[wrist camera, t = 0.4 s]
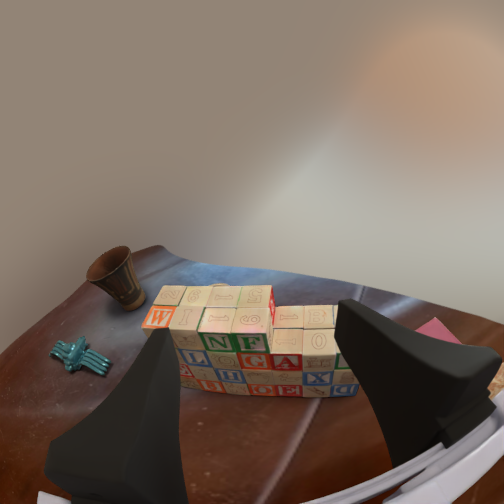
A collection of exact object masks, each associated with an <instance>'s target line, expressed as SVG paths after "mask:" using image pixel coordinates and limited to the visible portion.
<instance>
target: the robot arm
mask: <svg viewBox="0 0 504 504" xmlns="http://www.w3.org/2000/svg"><path fill="white" fill-rule="evenodd" d="M334 339H335V341H336V343H337V346H338V348H339V350H340V352H341V354H342V356H343V358H344V359H345V361H346V363H347V364H348V366H349V367H350V369H351V371H352V372H353V374H354V375H355V377H356V378H357V380H358V382H359V383H360V385H361V386H362V388H363V390H364V391H365V393H366V395H367V397H368V399H369V401H370V403H371V405H372V408H373V410H374V412H375V414H376V417H377V419H378V422H379V424H380V427H381V429H382V432H383V435H384V438H385V441H386V444H387V447H388V450H389V454H390V458H391V461H392V465H393V470H390V471H388V472H386V473H384V474H382V475H380V476H378V477H375V478H373V479H371V480H369V481H366V482H364V483H361V484H359V485H356V486H354V487H351V488H348V489H346V490H343V491H340V492H337V493H334V494H331V495H328V496H325V497H322V498H319V499H315V500H312V501H308V502H305V503H301V504H359V503H362V502H364V501H366V500H369V499H371V498H373V497H376V496H378V495H380V494H382V493H384V492H386V491H388V490H390V489H392V488H394V487H396V486H398V485H400V484H402V483H404V482H406V481H408V480H409V479H411V478H413V477H415V476H416V477H415V478H413V479H412V480H410V481H409V482H407V483H405V484H404V485H402V486H401V487H400V488H399V489H398V490H397V491H396V492H395V493H393V494H392V495H391V496H389V497H388V498H386V499H385V500H383V504H452V502H453V501H454V500H455V499H457V498H458V497H459V496H460V495H462V494H463V493H464V492H465V491H466V490H467V489H469V488H470V487H471V486H472V485H473V484H474V483H475V482H477V481H478V480H479V479H480V478H481V477H482V476H483V475H484V474H485V473H486V472H487V471H488V470H489V469H490V468H491V467H492V466H493V465H494V464H495V463H496V462H497V461H498V460H499V459H500V458H501V457H502V456H503V455H504V389H503V390H502V391H501V392H499V393H498V394H497V395H496V396H495V397H494V398H493V399H492V401H491V399H490V398H489V396H490V394H491V392H490V391H489V389H488V386H489V385H490V383H491V382H492V380H493V379H494V377H495V375H496V374H497V372H498V370H499V369H500V366H501V364H502V358H501V356H500V355H499V354H498V353H497V352H496V351H495V350H493V349H492V348H491V347H481V346H469V345H463V344H457V343H452V342H448V341H444V340H440V339H437V338H433V337H430V336H427V335H425V334H422V333H419V332H416V331H414V330H412V329H409V328H407V327H405V326H403V325H401V324H398V323H396V322H394V321H392V320H391V319H389V318H387V317H385V316H383V315H381V314H379V313H377V312H376V311H374V310H372V309H370V308H368V307H367V306H365V305H363V304H361V303H359V302H357V301H355V300H353V299H351V298H350V299H346V300H341V301H339V302H338V310H337V317H336V324H335V331H334ZM180 389H181V379H180V363H179V359H178V356H177V353H176V350H175V346H174V343H173V340H172V336H171V333H170V329H169V327H166V328H156V329H154V330H153V331H152V333H151V335H150V337H149V338H148V340H147V342H146V343H145V345H144V347H143V348H142V350H141V352H140V353H139V355H138V356H137V358H136V360H135V361H134V363H133V364H132V366H131V367H130V369H129V370H128V371H127V373H126V374H125V376H124V377H123V378H122V380H121V381H120V382H119V384H118V385H117V386H116V387H115V389H114V390H113V391H112V392H111V393H110V394H109V396H108V397H107V398H106V399H105V400H104V401H103V402H102V403H101V404H100V405H99V406H98V407H97V408H96V409H95V410H94V411H93V412H92V413H90V414H89V415H88V416H87V417H86V418H84V419H83V420H82V421H81V422H79V423H78V424H77V425H76V426H74V427H73V428H71V429H70V430H69V431H67V432H65V433H64V434H62V435H61V436H59V437H58V438H56V439H54V440H53V441H51V443H50V446H49V450H48V454H47V458H46V463H45V468H44V474H45V475H46V476H47V478H48V479H49V480H50V481H52V482H53V483H54V484H56V485H57V486H59V487H60V488H62V489H63V490H65V491H66V492H68V493H69V494H71V495H72V499H71V501H69V500H67V499H64V498H61V497H58V496H54V495H51V494H48V493H45V492H42V491H40V492H39V494H38V501H37V504H189V502H188V498H187V493H186V487H185V482H184V476H183V469H182V462H181V453H180V443H179V408H180ZM418 474H419V475H418ZM417 475H418V476H417Z"/></svg>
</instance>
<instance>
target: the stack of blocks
mask: <svg viewBox="0 0 504 504" xmlns="http://www.w3.org/2000/svg"><path fill="white" fill-rule="evenodd" d="M153 305H154V306H152V307H151V309H150V311H149V313H148V314H147V316H146V318H145V320H144V322H143V324H142V327H141V328H142V329H143V331H144V332H145V334H146V336H147V337H148V338H149V337H150V335H151V333H152V331H153V330H154V329H156V328H166V327H169V329H170V333H171V336H172V340H173V343H174V346H175V350H176V353H177V356H178V359H179V363H180V379H181V386H183V387H188V388H194V389H201V390H204V391H211V392H219V393H229V394H238V395H263V396H303V397H341V396H355V395H356V392H357V390H358V387H359V384H360V383H359V382H358V380H357V378H356V377H355V375H354V374H353V372H352V371H351V369H350V367H349V366H348V364H347V363H346V361H345V359H344V358H343V356H342V354H341V352H340V350H339V348H338V346H337V343H336V341H335V339H334V331H335V324H336V317H337V310H338V305H335V306H333V305H317V306H281V307H276V308H275V301H274V295H273V288H272V286H271V285H263V286H242V287H241V286H219V287H213V286H189V287H187V286H163V287H162V289H161V291H160V293H159V294H158V296H157V298H156V300H155V301H154V303H153Z"/></svg>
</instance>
